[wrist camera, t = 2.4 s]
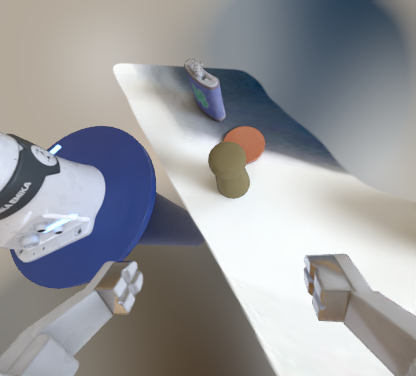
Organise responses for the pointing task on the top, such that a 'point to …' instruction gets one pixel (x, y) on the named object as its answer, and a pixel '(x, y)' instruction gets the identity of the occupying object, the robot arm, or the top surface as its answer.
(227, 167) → the cork
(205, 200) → the top surface
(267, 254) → the top surface
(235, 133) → the coaster
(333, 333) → the top surface
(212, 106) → the flask
